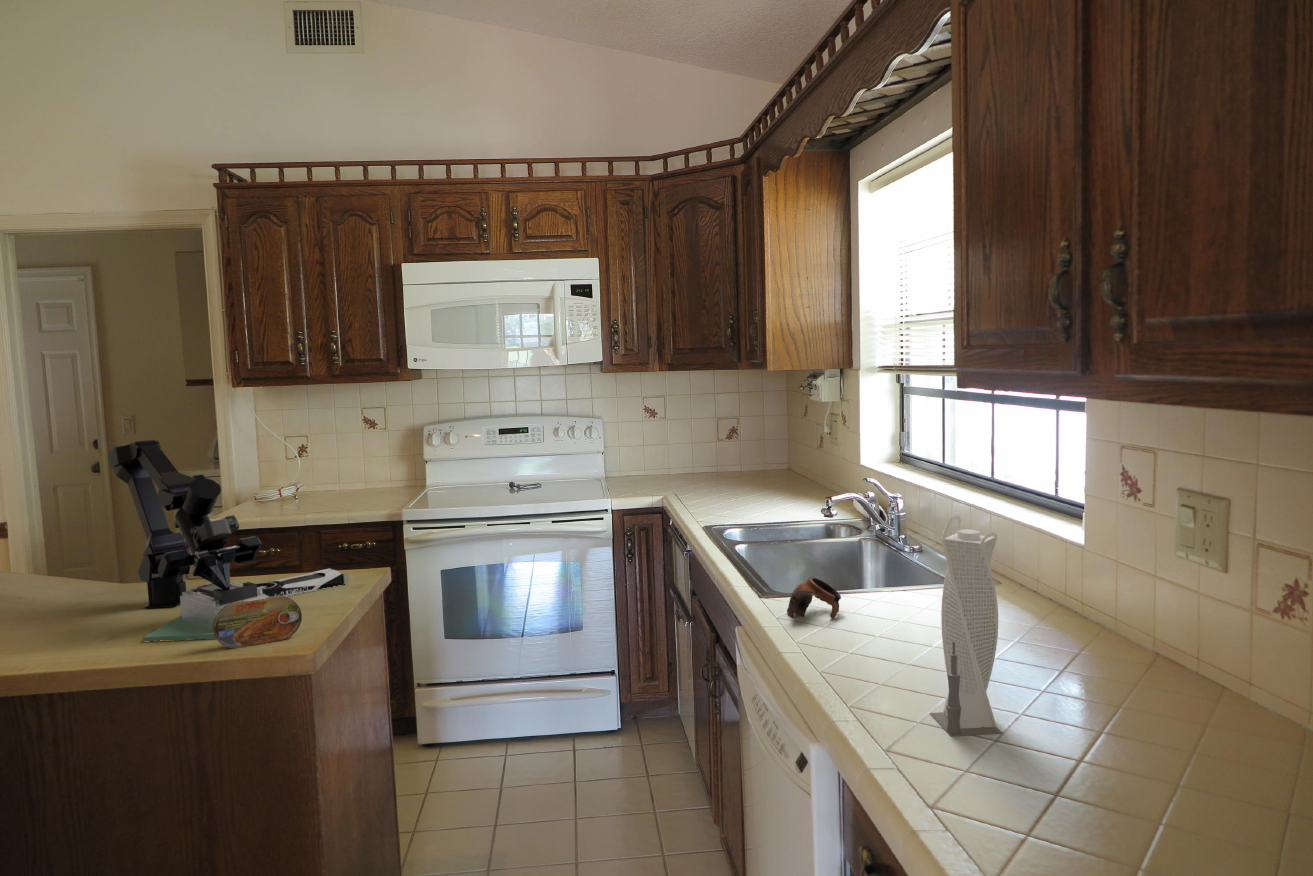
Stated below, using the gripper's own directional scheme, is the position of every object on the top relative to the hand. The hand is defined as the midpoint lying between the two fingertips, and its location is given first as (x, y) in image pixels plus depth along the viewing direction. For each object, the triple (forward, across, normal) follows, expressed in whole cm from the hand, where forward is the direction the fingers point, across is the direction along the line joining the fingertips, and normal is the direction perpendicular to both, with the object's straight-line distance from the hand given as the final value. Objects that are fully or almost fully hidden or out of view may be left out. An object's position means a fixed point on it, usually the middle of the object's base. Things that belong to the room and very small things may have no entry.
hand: (227, 589), depth 165 cm
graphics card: (-5, +20, +17) cm, 27 cm away
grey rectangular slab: (-2, 0, +3) cm, 3 cm away
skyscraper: (+101, +35, -89) cm, 139 cm away
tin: (+16, -2, -5) cm, 17 cm away
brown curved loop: (+74, +66, -62) cm, 116 cm away
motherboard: (+3, 0, +8) cm, 8 cm away
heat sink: (+4, 0, +7) cm, 8 cm away
